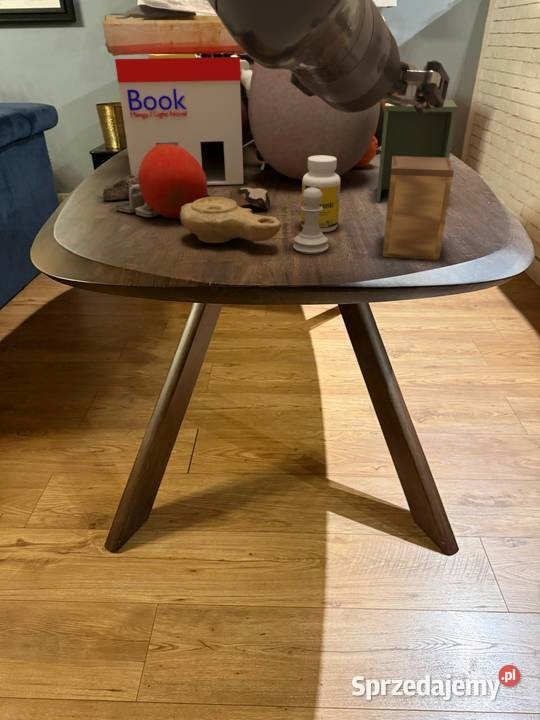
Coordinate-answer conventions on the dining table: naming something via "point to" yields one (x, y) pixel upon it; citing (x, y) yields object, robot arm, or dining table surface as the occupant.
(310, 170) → the supplement bottle
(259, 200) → the decorative stone
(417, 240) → the lidded wooden box
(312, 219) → the chess piece
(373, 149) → the pumpkin
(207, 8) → the tile
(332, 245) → the dining table surface
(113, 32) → the wooden block
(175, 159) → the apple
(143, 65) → the bookstore
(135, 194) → the strap clip
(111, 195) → the rock
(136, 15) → the cloth
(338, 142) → the plant pot
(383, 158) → the cubby shelf
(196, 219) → the oil lamp
